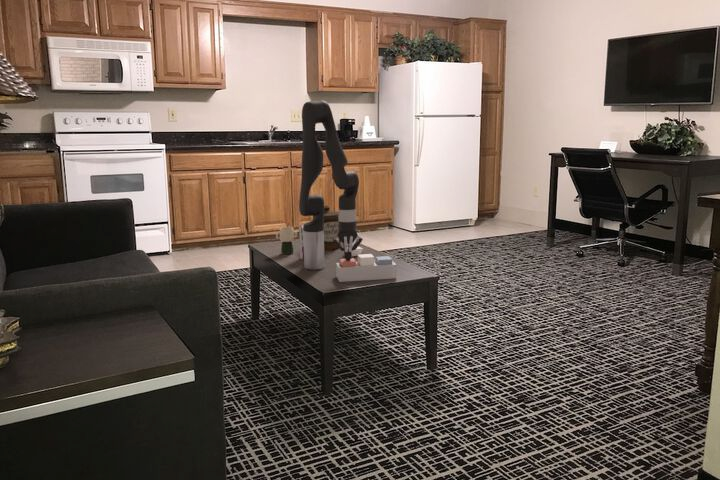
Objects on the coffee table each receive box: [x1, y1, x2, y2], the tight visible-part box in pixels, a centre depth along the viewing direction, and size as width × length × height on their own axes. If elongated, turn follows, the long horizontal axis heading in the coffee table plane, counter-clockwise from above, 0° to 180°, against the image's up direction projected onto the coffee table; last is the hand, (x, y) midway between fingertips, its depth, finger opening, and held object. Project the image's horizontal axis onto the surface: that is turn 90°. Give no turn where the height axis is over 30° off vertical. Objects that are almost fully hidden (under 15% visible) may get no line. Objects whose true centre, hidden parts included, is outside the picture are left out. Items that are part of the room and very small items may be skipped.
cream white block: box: [357, 253, 375, 266], centre depth 249 cm, size 6×6×5 cm
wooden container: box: [312, 205, 342, 251], centre depth 308 cm, size 15×15×22 cm
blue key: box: [374, 255, 393, 265], centre depth 250 cm, size 6×6×5 cm
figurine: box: [347, 228, 364, 257], centre depth 289 cm, size 7×9×15 cm
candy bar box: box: [298, 225, 304, 261], centre depth 283 cm, size 11×5×16 cm, turn 112°
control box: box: [335, 260, 397, 283], centre depth 250 cm, size 9×24×6 cm, turn 101°
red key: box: [339, 257, 357, 267], centre depth 248 cm, size 6×6×5 cm
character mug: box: [275, 226, 298, 255], centre depth 294 cm, size 11×7×13 cm, turn 111°
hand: (347, 260), depth 247 cm, fingers closed
